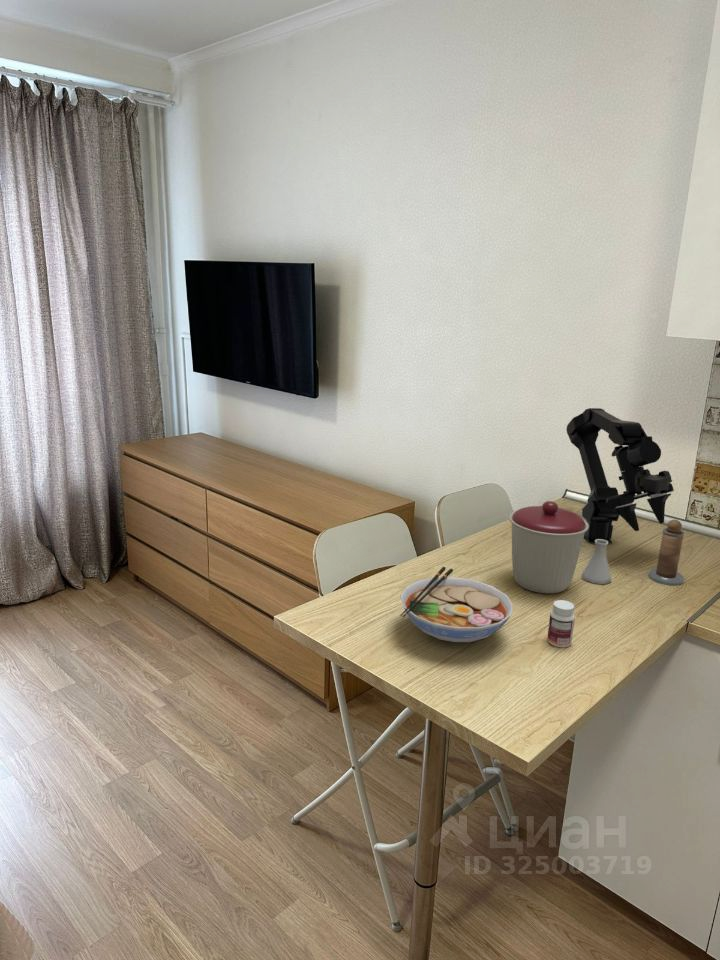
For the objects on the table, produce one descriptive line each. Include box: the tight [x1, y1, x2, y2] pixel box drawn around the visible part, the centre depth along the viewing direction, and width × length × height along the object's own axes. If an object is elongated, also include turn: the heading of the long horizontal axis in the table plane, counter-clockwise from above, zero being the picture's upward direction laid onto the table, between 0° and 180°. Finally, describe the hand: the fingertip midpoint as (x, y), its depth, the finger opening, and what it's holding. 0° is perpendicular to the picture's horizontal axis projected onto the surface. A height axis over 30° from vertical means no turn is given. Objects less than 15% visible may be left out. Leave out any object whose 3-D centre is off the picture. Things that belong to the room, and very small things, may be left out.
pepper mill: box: [656, 519, 685, 578], centre depth 164 cm, size 5×5×14 cm
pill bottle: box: [546, 599, 576, 648], centre depth 134 cm, size 5×5×8 cm
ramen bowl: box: [400, 566, 514, 643], centre depth 136 cm, size 25×23×8 cm
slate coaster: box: [648, 567, 685, 586], centre depth 166 cm, size 8×8×1 cm
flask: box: [581, 539, 612, 585], centre depth 164 cm, size 7×7×10 cm
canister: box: [508, 500, 589, 594], centre depth 158 cm, size 18×18×21 cm
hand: (649, 527), depth 172 cm, fingers open, 9 cm apart
